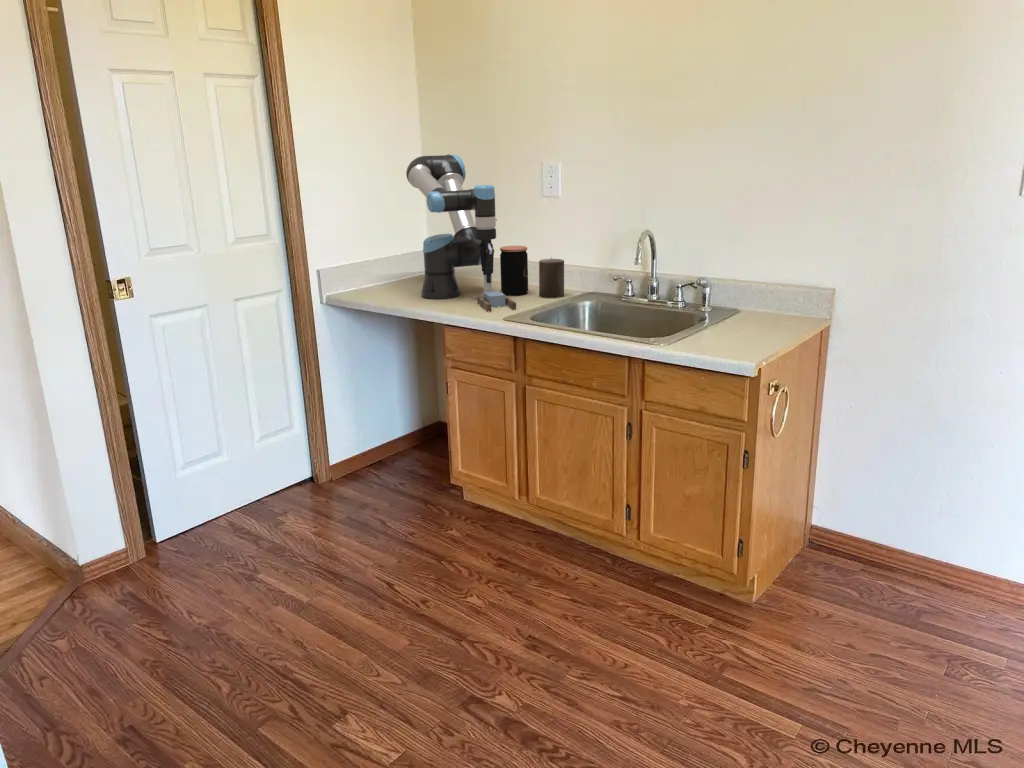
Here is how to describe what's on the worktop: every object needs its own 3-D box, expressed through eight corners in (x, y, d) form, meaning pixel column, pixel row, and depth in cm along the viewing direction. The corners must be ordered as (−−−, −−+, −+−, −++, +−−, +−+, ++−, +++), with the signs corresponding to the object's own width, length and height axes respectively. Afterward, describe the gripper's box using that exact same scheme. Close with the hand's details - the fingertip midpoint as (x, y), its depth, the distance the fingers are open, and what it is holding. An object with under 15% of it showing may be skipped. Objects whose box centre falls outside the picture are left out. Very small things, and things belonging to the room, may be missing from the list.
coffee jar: (529, 295, 306) (528, 249, 300) (502, 296, 305) (500, 250, 299) (527, 290, 316) (526, 245, 310) (500, 291, 315) (499, 246, 309)
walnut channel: (477, 303, 295) (477, 296, 294) (504, 300, 297) (503, 294, 297) (488, 312, 280) (488, 305, 279) (516, 309, 283) (516, 302, 282)
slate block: (483, 303, 295) (482, 291, 293) (498, 302, 296) (498, 290, 295) (489, 308, 287) (489, 296, 285) (505, 307, 288) (505, 295, 287)
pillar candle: (555, 299, 298) (555, 259, 293) (534, 296, 303) (533, 257, 299) (569, 295, 305) (569, 256, 301) (548, 292, 311) (548, 254, 306)
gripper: (500, 229, 286) (502, 293, 293) (491, 225, 298) (493, 287, 305) (480, 230, 284) (482, 295, 291) (471, 226, 296) (474, 289, 303)
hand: (488, 291), depth 298 cm, fingers closed
